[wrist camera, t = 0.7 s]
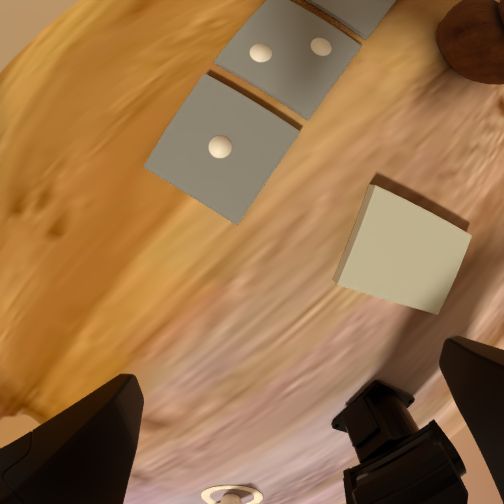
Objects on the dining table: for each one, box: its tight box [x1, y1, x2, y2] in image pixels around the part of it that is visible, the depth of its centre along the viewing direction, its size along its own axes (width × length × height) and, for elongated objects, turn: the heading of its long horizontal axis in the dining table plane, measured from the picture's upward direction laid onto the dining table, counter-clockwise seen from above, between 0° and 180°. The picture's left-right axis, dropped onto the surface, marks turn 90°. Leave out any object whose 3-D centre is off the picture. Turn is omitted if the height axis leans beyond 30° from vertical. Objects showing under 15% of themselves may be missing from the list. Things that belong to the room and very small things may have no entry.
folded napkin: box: [333, 184, 472, 315], centre depth 20 cm, size 10×7×1 cm
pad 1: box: [214, 0, 361, 121], centre depth 16 cm, size 7×7×1 cm
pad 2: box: [144, 74, 300, 225], centre depth 17 cm, size 7×7×1 cm
